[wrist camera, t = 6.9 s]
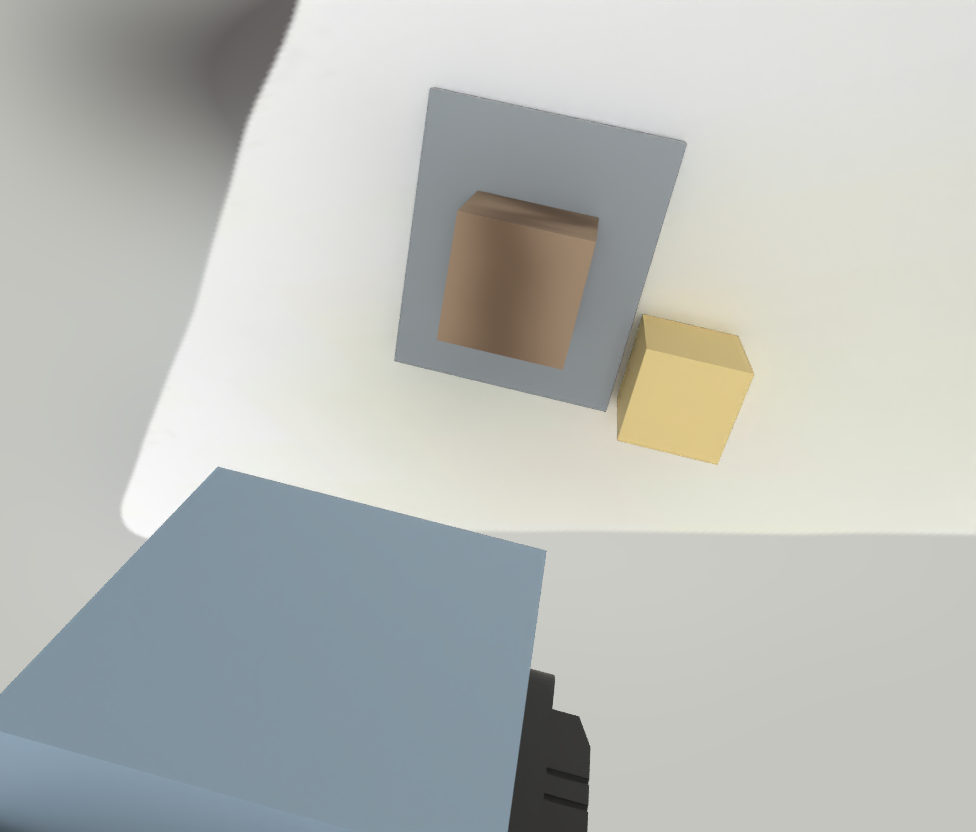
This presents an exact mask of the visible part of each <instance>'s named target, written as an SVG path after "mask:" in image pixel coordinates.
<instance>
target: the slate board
mask: <svg viewBox="0 0 976 832" xmlns="http://www.w3.org/2000/svg"><path fill="white" fill-rule="evenodd" d="M686 145H687V144H686V142H685V141H680V140H675V139H671V138H666V137H662V136H657V135H652V134H648V133H643V132H638V131H634V130H629V129H625V128H620V127H615V126H611V125H606V124H602V123H597V122H592V121H588V120H583V119H578V118H574V117H569V116H565V115H560V114H555V113H551V112H546V111H541V110H537V109H532V108H528V107H523V106H518V105H514V104H509V103H504V102H500V101H495V100H491V99H486V98H481V97H477V96H472V95H468V94H463V93H458V92H454V91H449V90H444V89H440V88H435V87H434V88H430V91H429V99H428V107H427V114H426V122H425V130H424V137H423V145H422V153H421V160H420V168H419V176H418V183H417V191H416V199H415V206H414V214H413V222H412V229H411V237H410V245H409V252H408V260H407V268H406V275H405V283H404V291H403V298H402V306H401V314H400V321H399V329H398V336H397V344H396V352H395V359H394V361H396V362H400V363H405V364H409V365H413V366H417V367H421V368H425V369H430V370H434V371H438V372H442V373H446V374H450V375H455V376H459V377H463V378H467V379H471V380H475V381H480V382H484V383H488V384H492V385H496V386H500V387H505V388H509V389H513V390H517V391H521V392H525V393H530V394H534V395H538V396H542V397H546V398H550V399H554V400H559V401H563V402H567V403H571V404H575V405H579V406H584V407H588V408H592V409H596V410H600V411H604V412H606V410H607V406H608V403H609V400H610V396H611V393H612V390H613V386H614V383H615V380H616V377H617V373H618V370H619V367H620V363H621V360H622V357H623V353H624V350H625V347H626V343H627V340H628V337H629V334H630V330H631V327H632V324H633V320H634V317H635V314H636V310H637V307H638V304H639V301H640V297H641V294H642V291H643V287H644V284H645V281H646V277H647V274H648V271H649V267H650V264H651V261H652V258H653V254H654V251H655V248H656V244H657V241H658V238H659V234H660V231H661V228H662V224H663V221H664V218H665V215H666V211H667V208H668V205H669V201H670V198H671V195H672V191H673V188H674V185H675V181H676V178H677V175H678V172H679V168H680V165H681V162H682V158H683V155H684V152H685V148H686ZM477 191H482V192H487V193H491V194H496V195H500V196H505V197H509V198H514V199H518V200H523V201H527V202H531V203H536V204H540V205H545V206H549V207H554V208H558V209H563V210H567V211H572V212H576V213H581V214H585V215H589V216H594V217H598V218H599V222H598V231H597V240H596V245H595V249H594V253H593V256H592V260H591V264H590V268H589V272H588V276H587V280H586V283H585V287H584V291H583V295H582V299H581V303H580V306H579V310H578V314H577V318H576V322H575V326H574V329H573V333H572V337H571V341H570V345H569V349H568V353H567V356H566V360H565V364H564V368H563V370H561V369H556V368H552V367H548V366H544V365H540V364H535V363H531V362H527V361H523V360H519V359H514V358H510V357H506V356H502V355H497V354H493V353H489V352H485V351H481V350H476V349H472V348H468V347H464V346H460V345H455V344H451V343H447V342H443V341H439V340H437V335H438V329H439V322H440V316H441V310H442V304H443V297H444V291H445V285H446V279H447V272H448V266H449V260H450V254H451V247H452V241H453V235H454V229H455V222H456V216H457V211H458V210H459V209H460V208H461V207H462V206H463V205H464V204H465V203H466V202H467V201H468V200H469V199H470V198H471V197H472V196H473V195H474V194H475V193H476V192H477Z"/></svg>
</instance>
